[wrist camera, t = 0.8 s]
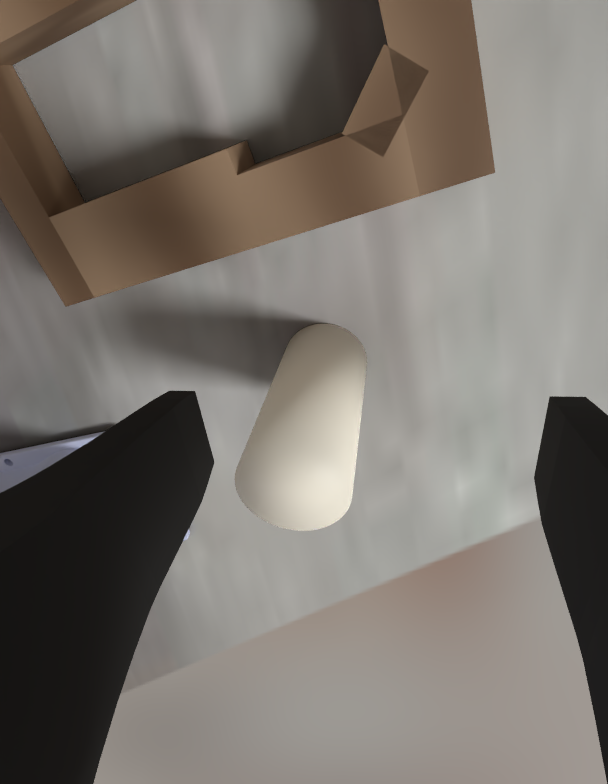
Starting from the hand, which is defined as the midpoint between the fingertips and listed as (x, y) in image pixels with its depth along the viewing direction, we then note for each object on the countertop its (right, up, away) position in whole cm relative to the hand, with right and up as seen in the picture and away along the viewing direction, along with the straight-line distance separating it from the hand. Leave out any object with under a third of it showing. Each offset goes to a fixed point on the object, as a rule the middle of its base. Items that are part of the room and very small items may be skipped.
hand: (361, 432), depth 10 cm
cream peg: (0, +2, +11) cm, 11 cm away
